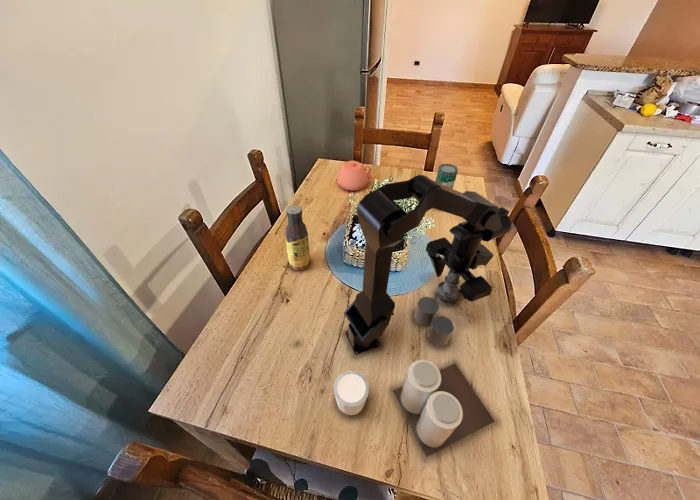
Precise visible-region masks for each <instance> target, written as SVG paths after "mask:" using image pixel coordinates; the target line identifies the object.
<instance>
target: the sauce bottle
mask: <svg viewBox="0 0 700 500" xmlns="http://www.w3.org/2000/svg"><path fill="white" fill-rule="evenodd" d="M285 211H286V212H285V213H286V216H287V225H286V226H285V230H284V234H285V245H286V251H287V260H288V263H289V266H290V268H291V269H292V270H294V271H302V270H305V269H306V268H308V266H309V265H310V260H311V255H310V243H309V233H308V229H307V226H306V224H305V222H304V219H303V208H302V207H301V206H300V205H297V204H292V205H289V206H288V207H286V210H285Z"/></svg>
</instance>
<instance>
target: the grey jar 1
mask: <svg viewBox="0 0 700 500" xmlns="http://www.w3.org/2000/svg"><path fill="white" fill-rule="evenodd" d="M439 308H440V306H439V302H438V301H437V299H436V298H433V297H431V296H423V297H421V298H419V299H418V301H417V305H416V308H415V312H414V316H413V317H414V321H415V322H416V323H417V325H420V326H422V327H430V325H431V322H432V320H433V319H434V318H435V317H437V316H438V315H437V314H438V311H439Z"/></svg>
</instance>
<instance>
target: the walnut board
mask: <svg viewBox="0 0 700 500" xmlns="http://www.w3.org/2000/svg"><path fill="white" fill-rule="evenodd" d="M438 370H439V371H440V374H441V383H440V386H439V388H438V389H437V391H436V392H438V391H444V392H447V393H450V394H451V395H453V396H454V397H455V398H456V399H457V400H458V401H459V403H460V405H461V407H462V411H463V418H462V421H461V423H460V424H459V425H458V427H457V428H456V429H455V430H454V432H453V433H452V434H451V435H450V437H449V438H448V439H447V440H446V442H445V443H444V444H443V445H442V446H440V447H430V446H428V445H426V444H424V443H423V442H422V441H421V439H420V438H419V436H418V434H417V430H416V424H417V421H418V419H419V417H420V415H421V414H414V413H411V412H409V411H408V410H406V409H405V407H404V406H403V404H402V402H401V391H402V388H403V385H402V386H400V387H398V388H396V389H395V388H394V389H393V390H392V392H393V394H394V396H395V398H396V400H397V402H398V404H399V406H400V408H401V410H402V413H403V414H404V417H405V418H406V420H407V422H408V424H409V426H410V429H411V431H412V432H413V434H414V436H415V438H416V440H417V442H418V444H419V446H420V448H421V450H422V452H423V454H424V456H425V458H428V457H429V456H432V455H434V454H435V453H438V452H440V451H441V450H444V449H445V448H447V447H449V446H451V445H453V444H454V443H456V442H459V441H460V440H463V439H464V438H466V437H468V436H470V435H472V434H473V433H476V432H477V431H479V430H482V429H484V428H485V427H487V426H490V425H492V424H493V423H495V422H496V421H495V419H494V418H493V416H492V414H490V411H488V409H487V408H486V406H485V405H484V403H483V401H482V400H481V399H480V397H479V396H478V394H477V393H476V391H475V390H474V389H473V387H472V385H471V384H470V382H469V381H468V380H467V378H466V376H465V375H464V374H463V372H462V371H461V369H460V368H459V366H458V365H457V364H456V363H453V364H451V365H448V366H446V367H444V368H442V369H438Z"/></svg>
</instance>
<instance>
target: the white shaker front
mask: <svg viewBox="0 0 700 500" xmlns="http://www.w3.org/2000/svg"><path fill="white" fill-rule="evenodd" d="M462 418H463V411H462V407H461V405H460V403H459V401H458V400H457V399H456V398H455V397H454V396H453V395H451V394H450V393H447V392H444V391H438V392H435V393H433V394H432V395H431V396H430V397H429V398H428V400H427V402H426V404H425V406H424V409H423V411H422V413H421V415H420V417H419V419H418V421H417V424H416V430H417V434H418V436H419V438H420V439H421V441H422V442H423V443H424V444H426V445H428V446H430V447H440V446H442V445H443V444H444V443H445V442H446V440H447V439H448V438H449V437H450V435H451V434H452V433H453V432H454V430H455V429H456V428H457V427H458V425H459V424H460V423H461V421H462Z"/></svg>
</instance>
